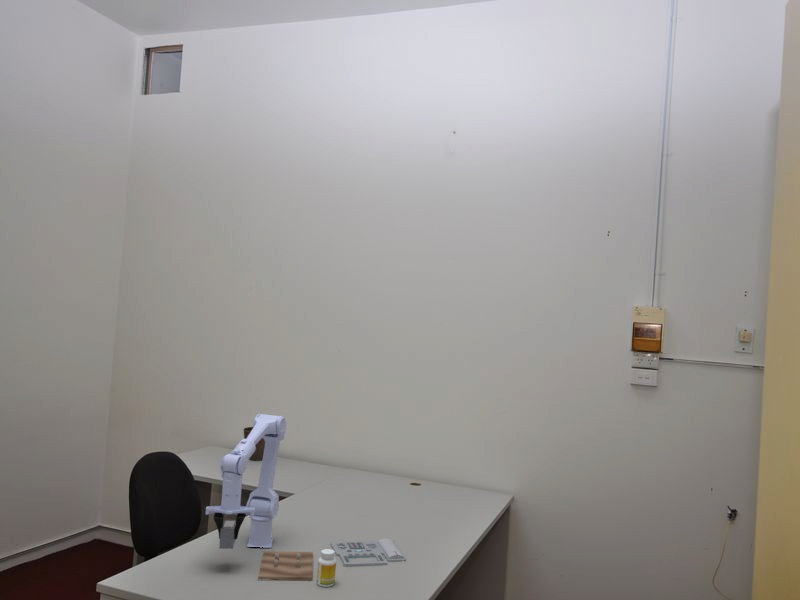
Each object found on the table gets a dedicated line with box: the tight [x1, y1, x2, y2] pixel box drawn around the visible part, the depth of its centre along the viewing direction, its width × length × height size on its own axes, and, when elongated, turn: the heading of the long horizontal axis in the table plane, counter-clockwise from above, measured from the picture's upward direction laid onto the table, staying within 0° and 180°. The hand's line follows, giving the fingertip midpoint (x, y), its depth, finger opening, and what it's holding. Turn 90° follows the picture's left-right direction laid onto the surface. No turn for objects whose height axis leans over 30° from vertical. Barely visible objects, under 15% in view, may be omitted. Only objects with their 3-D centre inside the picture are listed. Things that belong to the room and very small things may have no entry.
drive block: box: [218, 519, 237, 550], centre depth 195 cm, size 8×4×6 cm, turn 7°
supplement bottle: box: [316, 548, 337, 588], centre depth 188 cm, size 5×5×10 cm
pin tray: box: [257, 550, 314, 582], centre depth 199 cm, size 20×16×3 cm
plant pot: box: [243, 426, 265, 462], centre depth 336 cm, size 15×15×16 cm
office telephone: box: [330, 538, 407, 568], centre depth 214 cm, size 23×3×20 cm
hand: (228, 537), depth 195 cm, fingers closed on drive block, 4 cm apart
